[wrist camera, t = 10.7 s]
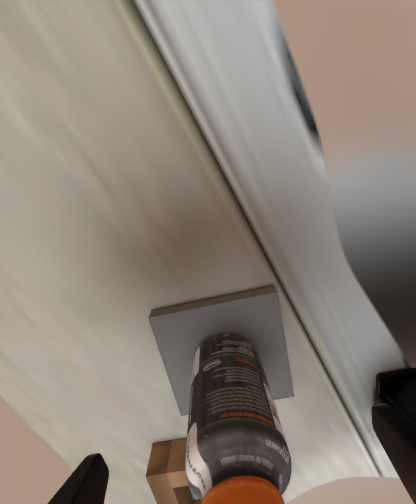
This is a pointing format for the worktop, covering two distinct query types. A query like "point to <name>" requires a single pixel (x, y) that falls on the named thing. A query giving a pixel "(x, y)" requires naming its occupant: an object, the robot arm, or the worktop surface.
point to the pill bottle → (234, 427)
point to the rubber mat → (222, 322)
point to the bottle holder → (169, 473)
